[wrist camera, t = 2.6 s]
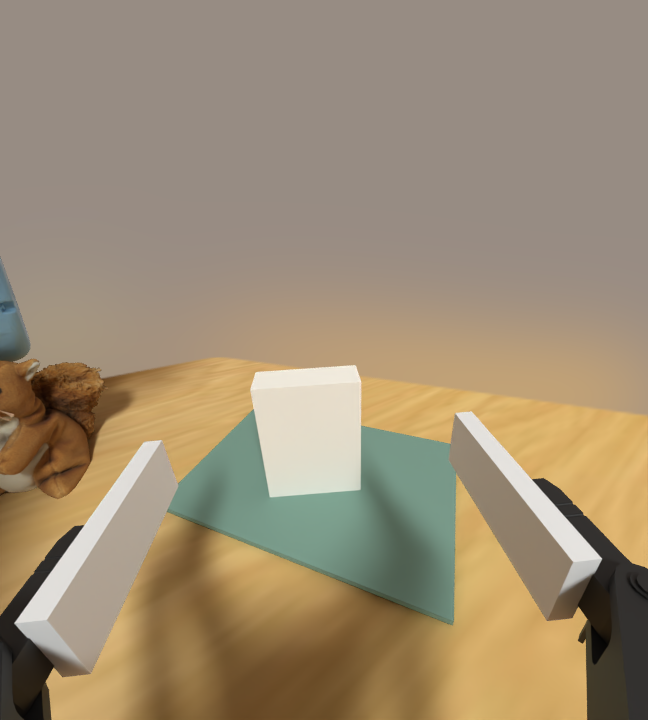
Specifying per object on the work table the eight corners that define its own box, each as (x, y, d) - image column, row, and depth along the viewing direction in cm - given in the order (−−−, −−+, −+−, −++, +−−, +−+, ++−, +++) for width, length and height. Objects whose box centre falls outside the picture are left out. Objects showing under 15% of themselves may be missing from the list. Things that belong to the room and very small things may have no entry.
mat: (158, 508, 27) (157, 504, 27) (258, 407, 40) (257, 404, 40) (452, 625, 18) (453, 621, 18) (455, 448, 32) (456, 445, 31)
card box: (269, 497, 27) (250, 389, 22) (273, 471, 29) (256, 370, 25) (360, 489, 27) (361, 381, 22) (355, 464, 30) (355, 363, 25)
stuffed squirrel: (-60, 524, 27) (-174, 399, 21) (59, 424, 40) (8, 328, 34) (53, 517, 27) (-29, 390, 21) (136, 419, 40) (99, 323, 34)
